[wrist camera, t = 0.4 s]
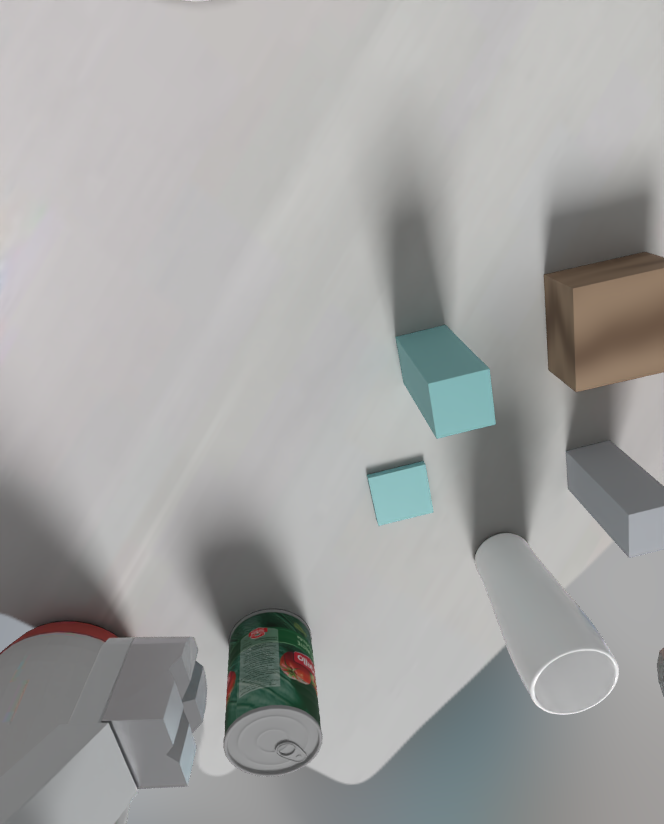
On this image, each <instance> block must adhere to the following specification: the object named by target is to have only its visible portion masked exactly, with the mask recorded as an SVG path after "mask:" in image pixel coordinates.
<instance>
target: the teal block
mask: <svg viewBox="0 0 664 824" xmlns="http://www.w3.org/2000/svg"><path fill="white" fill-rule="evenodd" d="M396 343H397V348H398V354H399V360H400V365H401V371H402V376H403V382H404V385H405V386H406V388H407V390H408V391H409V393H410V395H411V396H412V398H413V400H414V401H415V403H416V405H417V406H418V408H419V410H420V411H421V413H422V415H423V417H424V418H425V420H426V422H427V423H428V425H429V427H430V428H431V430H432V432H433V433H434V435H435V437H436V438H437V439H438V438H442V437H446V436H450V435H454V434H458V433H462V432H466V431H471V430H475V429H479V428H483V427H487V426H491V425H495V424H496V422H495V413H494V404H493V395H492V386H491V377H490V369H489V368H488V367H487V366H486V365H485V364H484V363H483V362H482V361H481V360H480V359H479V358H478V357H477V356H476V355H475V354H474V353H473V352H472V351H471V350H470V349H469V348H468V347H467V346H466V345H465V344H464V343H463V342H462V341H461V340H460V339H459V338H458V337H457V336H456V335H455V334H454V333H453V332H452V331H451V330H450V329H449V328H448V327H447V326H446V325H443V326H438V327H434V328H430V329H426V330H422V331H418V332H414V333H410V334H406V335H401V336H397V337H396Z"/></svg>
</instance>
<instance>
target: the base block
mask: <svg viewBox="0 0 664 824" xmlns="http://www.w3.org/2000/svg"><path fill="white" fill-rule="evenodd" d="M544 288H545V308H546V329H547V349H548V369H549V371H550V372H551V373H553V374H554V375H555V376H556V377H558V378H559V379H560V380H561V381H563V382H564V383H565V384H566V385H568V386H569V387H570V388H571V389H573V390H574V391H575V392H579V391H583V390H588V389H592V388H597V387H601V386H605V385H610V384H614V383H618V382H623V381H627V380H632V379H636V378H640V377H645V376H649V375H653V374H658V373H662V372H664V257H660V256H657V255H654V254H650V253H647V252H642V253H637V254H633V255H629V256H624V257H620V258H615V259H611V260H606V261H602V262H598V263H593V264H589V265H584V266H580V267H576V268H571V269H567V270H562V271H558V272H553V273H549V274H545V275H544Z"/></svg>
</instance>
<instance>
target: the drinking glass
mask: <svg viewBox="0 0 664 824" xmlns="http://www.w3.org/2000/svg"><path fill="white" fill-rule="evenodd" d="M475 566H476V569H477V572H478V574H479V576H480V578H481V580H482V582H483V585H484V587H485V590H486V592H487V595H488V598H489V600H490V603H491V606H492V608H493V611H494V614H495V616H496V619H497V622H498V625H499V627H500V630H501V633H502V636H503V638H504V641H505V644H506V646H507V649H508V652H509V654H510V656H511V659H512V661H513V663H514V665H515V667H516V670H517V672H518V673H519V676H520V678H521V680H522V681H523V683H524V685H525V687H526V689H527V691H528V692H529V694H530V696H531V698H532V700H533V701H534V703H535V704H536V705H537V706H538V707H540V708H541V709H542V710H544V711H546V712H549V713H553V714H573V713H577V712H581V711H584V710H587V709H589V708H591V707H593V706H594V705H596V704H598V703H599V702H601V701H602V700H603V699H604V698H605V697H607V695H608V694H609V693H610V692H611V691H612V690H613V688H614V686H615V684H616V682H617V680H618V676H619V667H618V663H617V661H616V659H615V657H614V656H613V654H612V653H611V651H610V649H609V648H608V646H607V644H606V643H605V641H604V640H603V638H602V637H601V635H600V633H599V632H598V630H597V629H596V628H595V626H594V625H593V623H592V622H591V621H590V620H589V618H588V617H587V616H586V614H585V613H584V612H583V610H582V609H581V608H580V607H579V606H578V605H577V603H576V602H575V601H574V600H573V599H572V598H571V596H570V595H569V594H568V593H567V591H566V590H565V589H564V588H563V587H562V586H561V584H560V583H559V582H558V581H557V580H556V578H555V577H554V576H553V575H552V574H551V572H550V571H549V570H548V569H547V568H546V566H545V565H544V564H543V563H542V562H541V560H540V559H539V558H538V557H537V556H536V554H535V553H534V551H533V550H532V548H531V547H530V545H529V544H528V543H527V542H526V540H524V539H523V538H522V537H520V536H518V535H516V534H512V533H501V534H497V535H494V536H492V537H490V538H488V539H487V540H485V541H484V542H483V543H482V544H481V545H480V547H479V548H478V550H477V552H476V555H475Z"/></svg>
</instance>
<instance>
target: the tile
mask: <svg viewBox="0 0 664 824" xmlns="http://www.w3.org/2000/svg"><path fill="white" fill-rule="evenodd" d="M367 478H368V482H369V487H370V491H371V496H372V500H373V505H374V509H375V514H376V518H377V522H378V526H380V525H384V524H388V523H392V522H396V521H400V520H404V519H408V518H412V517H417V516H421V515H425V514H429V513H433V506H432V500H431V495H430V489H429V483H428V477H427V471H426V466H425V463H424V461H422V462H417V463H413V464H409V465H405V466H401V467H397V468H393V469H389V470H385V471H381V472H377V473H373V474H369V475H367Z"/></svg>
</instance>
